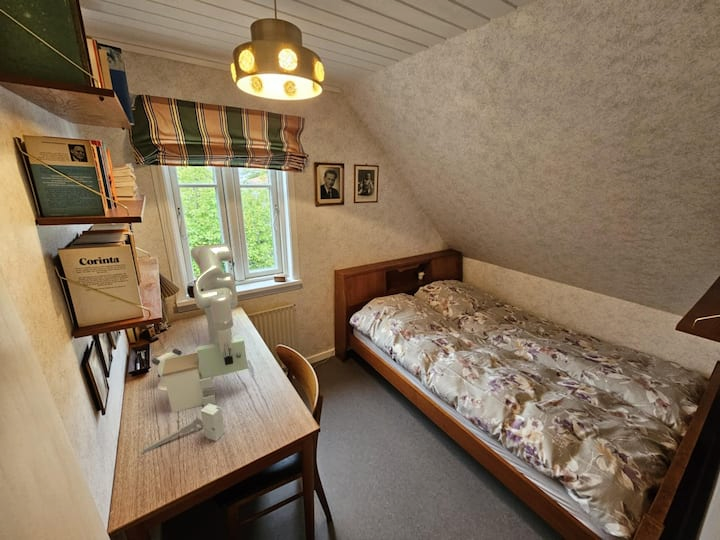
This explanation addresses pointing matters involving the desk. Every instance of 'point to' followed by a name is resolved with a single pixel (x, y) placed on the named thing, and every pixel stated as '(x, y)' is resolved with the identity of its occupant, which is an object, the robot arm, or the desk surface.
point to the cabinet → (187, 383)
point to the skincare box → (212, 422)
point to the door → (221, 359)
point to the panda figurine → (160, 365)
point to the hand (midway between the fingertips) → (229, 361)
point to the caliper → (176, 434)
